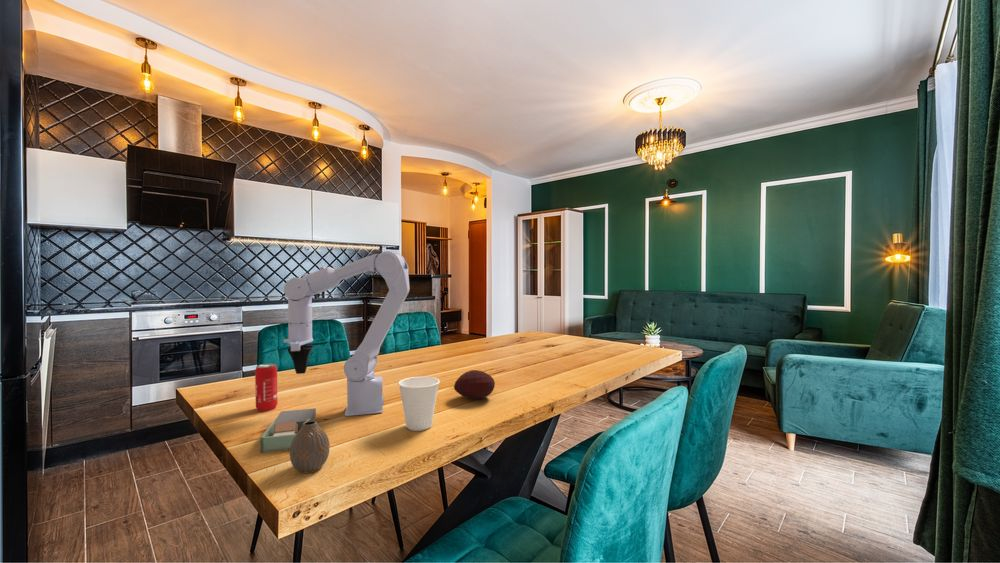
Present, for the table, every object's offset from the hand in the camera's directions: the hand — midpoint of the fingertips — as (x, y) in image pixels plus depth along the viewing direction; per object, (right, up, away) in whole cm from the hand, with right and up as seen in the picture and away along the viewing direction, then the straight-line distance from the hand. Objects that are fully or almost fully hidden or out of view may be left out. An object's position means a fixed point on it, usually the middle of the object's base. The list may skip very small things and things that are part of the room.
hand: (300, 373), depth 108 cm
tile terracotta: (+6, -9, -18) cm, 21 cm away
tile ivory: (+7, -9, -21) cm, 24 cm away
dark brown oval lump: (+46, -10, +11) cm, 49 cm away
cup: (+34, -11, -10) cm, 37 cm away
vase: (+17, -11, -31) cm, 37 cm away
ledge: (+4, -11, -10) cm, 15 cm away
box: (+6, -11, -19) cm, 23 cm away
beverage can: (-11, -11, +2) cm, 15 cm away
